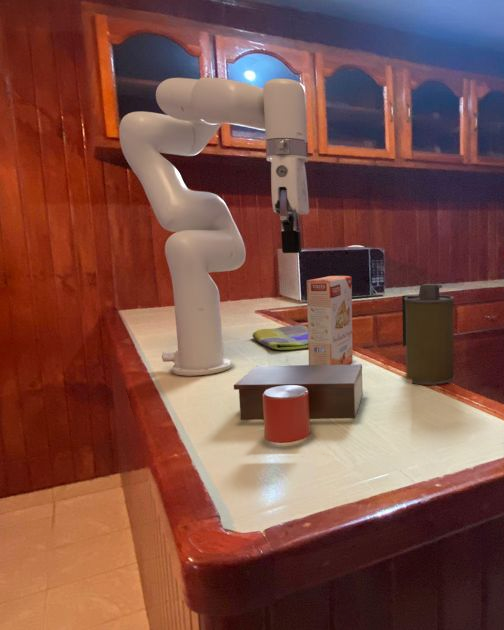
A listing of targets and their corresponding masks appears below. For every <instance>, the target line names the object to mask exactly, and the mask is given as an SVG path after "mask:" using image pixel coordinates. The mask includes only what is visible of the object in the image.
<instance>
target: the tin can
mask: <svg viewBox="0 0 504 630" xmlns="http://www.w3.org/2000/svg"><path fill="white" fill-rule="evenodd" d="M263 413H264V419H263V428H264V429H263V430H264V431H263V432H264V439H265V440H266V441H267V442H271V443H276V444H287V443H294V442H299V441H301V440H302V441H303V440H305V439H306V438H308V437H309V436H310V434H311V426H310V425H311V419H310V418H309V395H308V390H307V389H306V388H305V387H303V386H298V385H284V386H277V387H273V388H270V389H267V390H266V391H265V392H264V393H263Z"/></svg>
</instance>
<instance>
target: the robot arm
mask: <svg viewBox="0 0 504 630" xmlns="http://www.w3.org/2000/svg"><path fill="white" fill-rule="evenodd" d="M155 100H156V103H157V105H158V107H159V108H160V109H161V111H162V112H163V113H164V114H163V113H158V112H152V111H132V112H129V113H127V114H126V115H124V116H123V117H122V119H121V121H120V122H119V129H118V136H119V144H120V147H121V151H122V154H123V156H124V158H125V160H126V162H127V163H128V165H129V167H130V169H131V170H132V171H133V173H134V174H135V176H136V177H137V178H138V180H139V182H140V183H141V185H142V188H143V190H144V192H145V196H146V198H147V199H148V202H149V204H150V206H151V209H152V211H153V213H154V215H155V217H156V219H157V222H158V224H159V225H160V226H161V227H162V228H163V229H164V230H165V231H168V232H173V234H171V235H170V236H168V238H167V240H166V241H165V245H164V254H165V260H166V262H167V266H168V269H169V270H168V271H169V273H170V278H171V284H172V293H173V305H174V315H175V326H176V327H175V328H176V340H177V341H176V342H177V350H176V351H174V352H172V351H163V352H162V354H161V360H162V362H164V363H169V362H173V363H174V365H172V367H171V371H172V373H173V375H177V376H184V377H185V376H186V377H189V376H190V377H192V376H193V377H194V376H205V375H214V374H219V373H221V372H225V371H227V370H229V369H231V367H232V361H231V360H230V359H227V358H224V356H225V355H224V343H223V341H224V340H223V326H222V310H221V298H220V297H221V295H220V290H219V289H218V285H217V284H216V283H215V281H214V280H213V278H212V277H211V275H210V274H209V273H220V272H230V271H235V270H238V269H239V268H241V267H242V266H243V265H244V264H245V261H246V255H247V253H246V252H247V251H246V246H245V242H244V240H243V237H242V235H241V233H240V231H239V228H238V226H237V224H236V222H235V220H234V218H233V216H232V214H231V211H230V209H229V208H228V205H227V203H226V202H225V201H224V200H223V199H222V197H220V196H219V195H218V194H217V193H214V192H213V193H212V192H210V191H201V190H200V191H199V190H192V189H189V188H188V187H187V185H186V183H185V182H184V180H183V178H182V175H181V173H180V172H179V170H178V169H177V168H176V166H175V165H173V164H172V163H171V161H169V160H168V159H167V158H166V157H164V156H163V155H162V154H168V155H175V156H183V157H193V156H196V155H198V154H200V153H201V152H202V151H203V150H204V149H205V148H206V146H207V145H208V144H209V142H210V141H211V140H212V139H213V137H214V136H215V135H216V133H217V132H218V131H219V129H220V128H221V127H222V125H223V124H228V125H232V126H233V125H234V126H239V127H245V128H249V129H253V130H259V131H264V136H265V155H266V156H265V157H266V158H265V159H266V161H267V162H270V184H271V185H270V187H271V188H270V189H271V205H272V210H273V212H274V213H276V214H277V215H279V219H280V229H281V249H282V250H281V251H282V253H283V254H299V253H302V238H301V215H303V216H307V215H308V214H309V213H310V205H309V204H310V203H309V190H308V180H307V179H308V178H307V170H306V165H305V163H308V162H309V142H308V118H307V117H308V115H307V93H306V88H305V87H304V85H303V84H302V83H301V82H299V81H297V80H295V79H288V78H272V79H269V80H267V81H266V82H265V83H264V85H263V87H260V86H258V85H257V86H256V85H253V84H250V83H246V82H242V81H238V80H234V79H231V78H230V79H229V78H222V77H212V76H211V77H209V76H202V77H200V78H198V79H197V78H188V77H187V78H186V77H170V78H167V79H165V80H163V81H161V82H160V83H159V85H158V86H157V88H156V91H155Z"/></svg>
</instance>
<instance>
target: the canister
mask: <svg viewBox="0 0 504 630" xmlns="http://www.w3.org/2000/svg"><path fill="white" fill-rule="evenodd" d="M440 288H441V289H442V288H443V285H442V284H439V283H424V284H420V287H419V291H418V294H404V295H402V297H401V301H402V302H401V303H402V304H401V307H402V309H401V310H402V311H401V313H402V316H401V317H402V348H405V363H406V364H405V366H406V367H405V368H406V369H405V370H406V371H405V372H406V377H407V378H408V379H410V380H411V381H412V384H414V385H422V386H440V385H445V384H449V383H451V382H453V381H454V380H455V378H456V377H455V375H454V373H455V372H454V369H455V368H454V367H455V366H454V365H455V364H454V363H455V362H454V361H455V356H454V355H455V354H454V353H455V349H454V348H455V347H454V345H455V343H454V342H455V341H454V338H455V336H454V335H455V329H454V328H455V327H454V326H455V324H454V323H455V320H454V319H455V317H454V316H455V312H454V311H455V307H454V306H455V305H454V304H455V297H454V296H453V295H448V294H440Z"/></svg>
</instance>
